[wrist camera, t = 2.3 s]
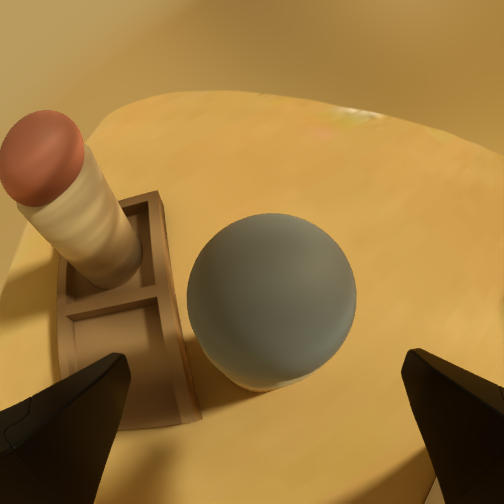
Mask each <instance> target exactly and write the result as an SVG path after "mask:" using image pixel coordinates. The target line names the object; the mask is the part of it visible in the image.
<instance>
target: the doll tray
mask: <svg viewBox="0 0 504 504" xmlns="http://www.w3.org/2000/svg"><path fill="white" fill-rule="evenodd" d="M118 203H119V205H120V207H121V208H122V210H123V212H124V214H125V216H126V217H127V219H128V221H129V223H130V224H131V226H132V228H133V229H134V231H135V233H136V235H137V236H138V238H139V240H140V241H141V244H142V248H143V258H142V262H141V265H140V267H139V269H138V271H137V272H136V274H135V275H134V276H133V277H132V278H131V279H130V280H129V281H128V282H127V283H125V284H124V285H122V286H120V287H117V288H114V289H101V288H98V287H96V286H94V285H93V284H92V283H91V282H90V281H88V280H87V279H86V278H85V277H84V276H83V275H82V274H81V273H80V272H79V271H77V270H76V269H75V268H74V267H73V266H72V265H71V264H70V263H69V262H68V261H67V260H66V259H65V258H64V257H63V256H62V255H61V254H60V255H59V267H58V285H57V338H58V355H59V367H60V377H61V380H63V379H65V378H67V377H68V376H70V375H72V374H74V373H76V372H78V371H79V370H81V369H83V368H85V367H87V366H89V365H90V364H92V363H94V362H96V361H98V360H99V359H101V358H103V357H105V356H107V355H108V354H110V353H112V352H116V353H123V354H125V356H126V358H127V361H128V365H129V368H130V372H131V382H130V386H129V390H128V394H127V398H126V402H125V407H124V411H123V415H122V418H121V421H120V424H119V427H118V430H129V429H141V428H152V427H161V426H169V425H176V424H183V423H190V422H196V421H199V420H201V419H202V416H201V412H200V409H199V405H198V401H197V397H196V393H195V389H194V384H193V380H192V376H191V372H190V367H189V363H188V358H187V353H186V349H185V344H184V339H183V334H182V329H181V323H180V318H179V312H178V307H177V301H176V295H175V289H174V283H173V276H172V270H171V263H170V255H169V248H168V240H167V232H166V223H165V214H164V206H163V203H162V200H161V198H160V195H159V193H158V190H157V191H153V192H149V193H145V194H141V195H138V196H134V197H131V198H127V199H123V200H120V201H118Z"/></svg>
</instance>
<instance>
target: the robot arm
mask: <svg viewBox="0 0 504 504" xmlns="http://www.w3.org/2000/svg"><path fill="white" fill-rule="evenodd" d="M401 375H402V379H403V382H404V385H405V389H406V392H407V395H408V399H409V402H410V406H411V409H412V412H413V415H414V417H415V420H416V422H417V425H418V427H419V430H420V432H421V435H422V437H423V440H424V443H425V445H426V448H427V451H428V453H429V456H430V459H431V462H432V465H433V468H434V470H435V473H436V476H437V479H438V483H439V486H440V489H441V492H442V495H443V498H444V502H445V504H504V388H503V387H501V386H498V385H497V384H494V383H492V382H490V381H488V380H486V379H484V378H482V377H479V376H477V375H475V374H473V373H471V372H469V371H467V370H465V369H462V368H460V367H458V366H456V365H454V364H452V363H450V362H448V361H446V360H444V359H441V358H439V357H437V356H435V355H433V354H431V353H429V352H427V351H425V350H423V349H421V348H416V349H410V350H409V351H408V352H407V354H406V357H405V360H404V363H403V366H402V369H401ZM130 382H131V372H130V368H129V365H128V361H127V358H126V356H125V354H123V353H116V352H112V353H110V354H108V355H107V356H105V357H103V358H101V359H99V360H98V361H96V362H94V363H92V364H90V365H89V366H87V367H85V368H83V369H81V370H79V371H78V372H76V373H74V374H72V375H70V376H68V377H67V378H65V379H63V380H61V381H59V382H57V383H55V384H54V385H52V386H50V387H48V388H46V389H44V390H42V391H41V392H39V393H37V394H35V395H33V396H32V397H29V398H27V399H25V400H24V401H22V402H20V403H18V404H16V405H14V406H12V407H9V408H7V409H5V410H2V411H0V504H94V500H95V497H96V493H97V490H98V487H99V484H100V480H101V477H102V474H103V471H104V468H105V465H106V462H107V459H108V456H109V453H110V450H111V447H112V444H113V441H114V438H115V436H116V433H117V430H118V427H119V424H120V421H121V418H122V415H123V411H124V407H125V402H126V398H127V394H128V390H129V386H130Z"/></svg>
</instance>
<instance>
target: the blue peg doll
mask: <svg viewBox="0 0 504 504" xmlns="http://www.w3.org/2000/svg"><path fill="white" fill-rule="evenodd" d="M187 310H188V315H189V320H190V323H191V326H192V329H193V331H194V333H195V335H196V337H197V339H198V342H199V344H200V346H201V348H202V350H203V352H204V353H205V354H206V356H207V357H208V359H209V360H210V361H211V362H212V363H213V364H214V365H215V366H216V367H217V368H218V369H219V370H220V371H221V372H222V373H223V374H225V375H226V376H227V377H228V378H229V379H230V380H232V381H233V382H234V383H235V384H236V385H238V386H240V387H241V388H243V389H246V390H249V391H253V392H268V391H272V390H276V389H279V388H282V387H285V386H288V385H291V384H294V383H296V382H298V381H301V380H303V379H305V378H307V377H308V376H310V375H312V374H313V373H314V372H316V371H317V370H318V369H319V368H320V367H322V365H323V364H324V363H326V362H327V361H328V360H329V359H330V358H331V357H332V356H333V355H334V354H335V353H336V352H337V351H338V350H339V348H340V347H341V345H342V344H343V342H344V341H345V339H346V337H347V335H348V333H349V331H350V328H351V326H352V323H353V320H354V316H355V310H356V285H355V279H354V276H353V272H352V269H351V267H350V264H349V262H348V260H347V258H346V256H345V254H344V253H343V251H342V250H341V248H340V247H339V246H338V244H337V243H336V242H335V241H334V240H333V239H332V238H331V237H330V236H329V235H328V234H327V233H325V232H324V231H323V230H322V229H320V228H319V227H317V226H316V225H314V224H312V223H310V222H308V221H306V220H304V219H301V218H298V217H295V216H291V215H285V214H274V213H268V214H259V215H254V216H250V217H247V218H243V219H241V220H238V221H236V222H234V223H232V224H230V225H228V226H227V227H225V228H223V229H222V230H221V231H220V232H218V233H217V234H216V235H215V236H214V237H213V238H212V239H211V240H210V241H209V242H208V243H207V244H206V245H205V247H204V248H203V249H202V251H201V252H200V254H199V255H198V257H197V259H196V261H195V263H194V266H193V268H192V271H191V273H190V277H189V281H188V287H187Z"/></svg>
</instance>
